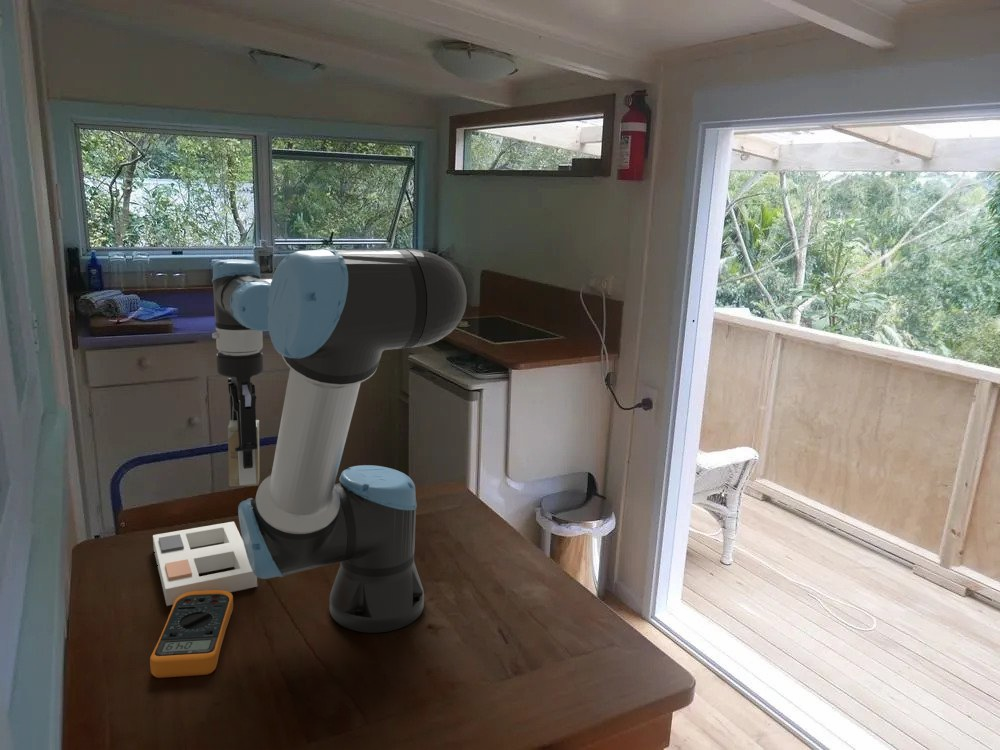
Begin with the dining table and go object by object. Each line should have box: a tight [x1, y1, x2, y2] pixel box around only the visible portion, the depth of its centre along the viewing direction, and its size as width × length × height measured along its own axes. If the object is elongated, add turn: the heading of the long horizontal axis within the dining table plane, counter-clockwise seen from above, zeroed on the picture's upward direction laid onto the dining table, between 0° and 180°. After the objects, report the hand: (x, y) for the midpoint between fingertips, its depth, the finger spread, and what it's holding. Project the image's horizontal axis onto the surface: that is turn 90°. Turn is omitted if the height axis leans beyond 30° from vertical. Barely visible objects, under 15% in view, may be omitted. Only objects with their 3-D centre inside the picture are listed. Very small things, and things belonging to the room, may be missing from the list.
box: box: [227, 419, 260, 487], centre depth 131 cm, size 5×4×11 cm
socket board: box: [152, 521, 258, 607], centre depth 128 cm, size 20×14×4 cm
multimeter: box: [149, 590, 234, 679], centre depth 109 cm, size 9×18×3 cm, turn 11°
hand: (244, 477), depth 132 cm, fingers closed on box, 5 cm apart
